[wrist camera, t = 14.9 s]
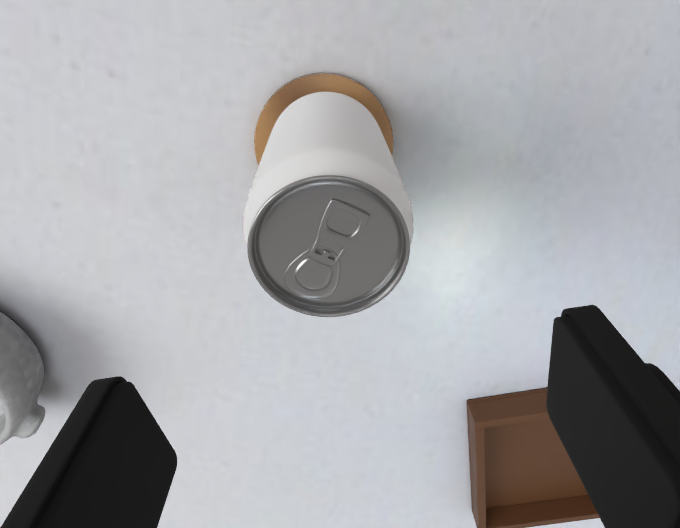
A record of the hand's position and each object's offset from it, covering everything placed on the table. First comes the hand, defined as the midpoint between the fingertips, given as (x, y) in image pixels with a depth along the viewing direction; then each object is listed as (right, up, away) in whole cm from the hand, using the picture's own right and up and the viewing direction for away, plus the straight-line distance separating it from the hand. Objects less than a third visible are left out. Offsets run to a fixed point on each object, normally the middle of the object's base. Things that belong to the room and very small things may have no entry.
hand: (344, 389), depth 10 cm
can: (-1, +10, +16) cm, 18 cm away
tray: (+19, -15, +32) cm, 40 cm away
